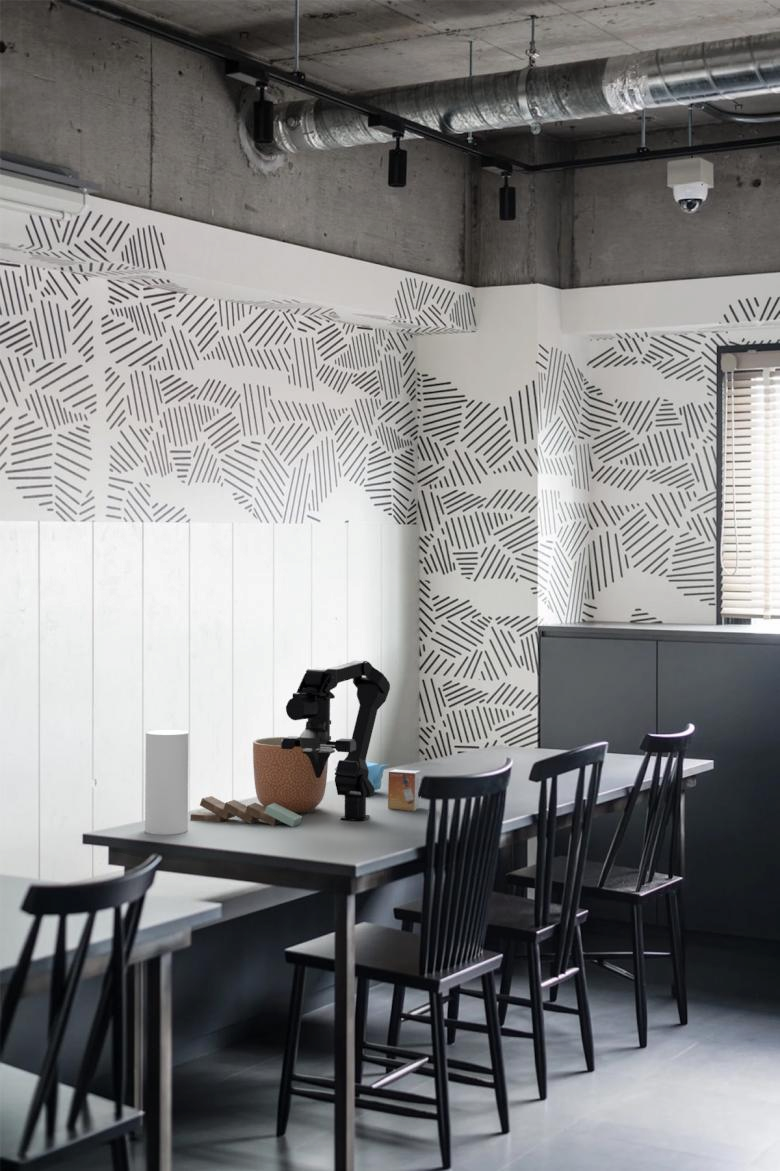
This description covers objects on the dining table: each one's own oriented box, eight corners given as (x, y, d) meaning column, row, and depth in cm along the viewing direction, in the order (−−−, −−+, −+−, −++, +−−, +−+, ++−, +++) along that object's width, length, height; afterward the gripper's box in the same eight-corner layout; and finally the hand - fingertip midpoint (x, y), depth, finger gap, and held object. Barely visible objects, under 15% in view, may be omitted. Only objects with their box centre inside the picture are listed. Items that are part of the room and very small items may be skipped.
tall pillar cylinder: (187, 826, 369) (188, 729, 368) (188, 834, 358) (188, 734, 358) (145, 827, 367) (146, 729, 367) (144, 835, 357) (145, 734, 356)
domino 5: (292, 826, 370) (264, 812, 372) (299, 823, 374) (271, 809, 377) (295, 819, 369) (266, 805, 372) (302, 816, 374) (274, 802, 377)
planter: (268, 801, 408) (269, 735, 407) (337, 806, 402) (338, 738, 402) (240, 814, 388) (241, 744, 387) (313, 818, 382) (314, 747, 382)
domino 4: (273, 825, 371) (245, 812, 374) (280, 822, 376) (252, 809, 378) (275, 818, 371) (247, 805, 373) (283, 815, 376) (255, 802, 378)
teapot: (324, 793, 424) (324, 759, 423) (347, 787, 436) (348, 754, 436) (378, 798, 415) (378, 764, 415) (400, 792, 428) (400, 758, 427)
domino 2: (225, 819, 375) (199, 805, 378) (234, 816, 380) (209, 802, 383) (228, 812, 375) (202, 798, 378) (237, 809, 380) (211, 796, 383)
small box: (387, 809, 398) (387, 771, 398) (393, 806, 403) (394, 768, 403) (414, 811, 395) (415, 773, 395) (420, 807, 401) (421, 770, 400)
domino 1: (219, 824, 376) (190, 821, 379) (227, 821, 380) (199, 818, 383) (219, 816, 376) (190, 814, 379) (227, 813, 380) (199, 811, 383)
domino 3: (250, 823, 373) (223, 809, 376) (258, 820, 378) (231, 806, 381) (252, 816, 373) (225, 802, 376) (261, 813, 378) (234, 799, 380)
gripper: (273, 718, 363) (273, 780, 363) (343, 721, 357) (343, 784, 358) (288, 714, 373) (288, 774, 374) (357, 717, 368) (356, 777, 368)
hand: (318, 777), depth 368 cm, fingers closed
